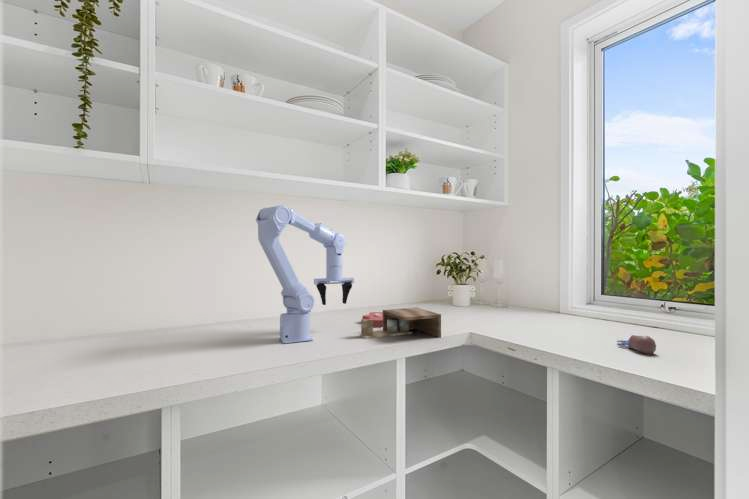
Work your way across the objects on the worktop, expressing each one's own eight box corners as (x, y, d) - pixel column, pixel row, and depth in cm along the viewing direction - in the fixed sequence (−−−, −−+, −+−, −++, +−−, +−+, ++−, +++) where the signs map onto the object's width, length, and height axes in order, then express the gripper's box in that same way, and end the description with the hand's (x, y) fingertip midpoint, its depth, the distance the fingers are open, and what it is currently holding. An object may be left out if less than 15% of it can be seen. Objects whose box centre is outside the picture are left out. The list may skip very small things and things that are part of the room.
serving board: (365, 339, 111) (365, 321, 111) (360, 336, 116) (360, 318, 116) (412, 334, 118) (412, 317, 118) (405, 331, 123) (405, 315, 123)
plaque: (363, 310, 146) (397, 310, 146) (363, 319, 146) (397, 319, 146) (361, 318, 128) (401, 318, 129) (361, 328, 128) (401, 328, 129)
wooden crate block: (404, 341, 107) (404, 317, 107) (382, 331, 122) (382, 309, 122) (441, 337, 113) (441, 314, 113) (416, 327, 128) (416, 307, 128)
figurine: (611, 350, 104) (644, 356, 92) (609, 333, 104) (642, 336, 93) (628, 350, 104) (663, 355, 92) (626, 333, 105) (660, 336, 93)
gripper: (317, 266, 116) (317, 306, 115) (357, 266, 121) (357, 304, 121) (312, 266, 122) (312, 304, 122) (350, 265, 128) (350, 301, 128)
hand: (334, 303), depth 122 cm, fingers open, 7 cm apart
